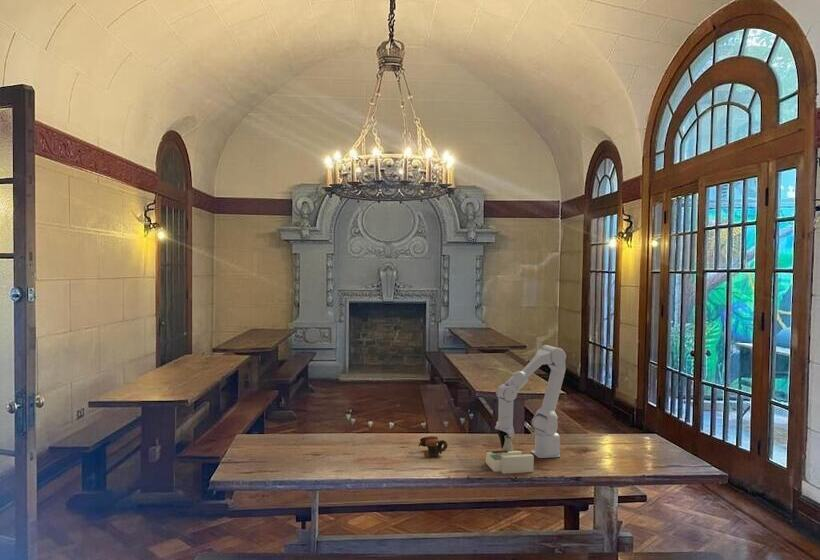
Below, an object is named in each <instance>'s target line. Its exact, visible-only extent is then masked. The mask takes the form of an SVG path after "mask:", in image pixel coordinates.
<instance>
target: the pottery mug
mask: <svg viewBox="0 0 820 560" xmlns="http://www.w3.org/2000/svg"><path fill="white" fill-rule="evenodd" d="M419 440H420V442H419V443H418V447H423V448H424V447H427V451H424V452H423V455H424V458H439V456H440V455H441V454H442V453H443V452H445V451H446V450H447V449H448V446H449V445H448V442H447V441H446V440H439V439H438V436H434V435H433V436H426V437H425V436H424V437H421V438H420V439H419ZM442 446H443V447H442Z"/></svg>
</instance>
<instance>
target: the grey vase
mask: <svg viewBox="0 0 820 560" xmlns="http://www.w3.org/2000/svg"><path fill="white" fill-rule="evenodd" d="M504 437H505V442H504V446H503V448H501V450H500V451H506V450H507V451H514V447H513V442H512V441H513V438H514V437H509V435H505V436H504ZM498 455H499V456H500V453H498Z"/></svg>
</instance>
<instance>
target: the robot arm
mask: <svg viewBox="0 0 820 560" xmlns="http://www.w3.org/2000/svg"><path fill="white" fill-rule="evenodd" d="M566 360H567V354H566V352H565V350H564V349H562V348H561V347H557V346H552V345H548V344H543V345H541V347H539V349H537V350H536V353H535V355H534V356H533V357H532V359H531V360H530V361H529V362H528V363H527V365H525V366H524V368H523V369H522V370H517V371H514V372H513V373H512V376H510V378H509V379H508V380H506V381H505V382H504V383H503V384H500V385H499V386H498V387H497V389H496V390H495V395H496V396H497V399H498V407H497V408H498V410H497V411H498V413H497V415H498V417H497V421H496V425H495V426H494V429H495V430H497V432H496V433H497V436H498V438H499V442H500V447H501V449H502V448H503V446H504V442H505V437H504V436H505V435H509V437H513V438H515V430H514V400H516V398H517V397H518V393H519V391H520V390H521V389H523V387H524V386H525V385H526V384H527V383H528V382H529V377H530V376H531V375H532V374H533V373H535V372H536V371H537V370H538V369H539V368H540V367H541V366H542V365H547V366H548V367H549V368H550V373H549V376H548V377H549V378H548V380H547V385H546V389H545V392H544V396H543V400H542V404H541V407H539V408H538V409H537V410H536V412H535V415H534V416H533V418H532V420H531V425H532V427H533V428H534V431H535V433H534V436H535V438H534V450H530V452H531V454H532V455H533V456H536V457H537V458H538V459H547V458H548V459H550V458H560V457H561V453H560V452H561V437H560V435H559V433H558V432H557V430H558V428H559V426H558V424H559V423H558V419H559V417H558V415H557V413H556V410H557V409H556V408H557V405H558V401H559V397H560V393H561V389H562V385H563V382H564V379H565V374H566V368H567V367H566Z"/></svg>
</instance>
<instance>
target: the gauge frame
mask: <svg viewBox="0 0 820 560" xmlns="http://www.w3.org/2000/svg"><path fill="white" fill-rule="evenodd" d="M492 451H493V450H489V451H486V452H485V453H486V454H485V464H486V465H487V467H489V468H490V469H491V470H492V471H493V472H494V473H495V472H501V474H503V475H504V474H505V475H506V474H521V473H534V465H535V462H534V460H535V459H534V458H535V457H534V456H535V455H534V454H533V453H529V454H522V455H507V456H501V457H500V456H499V453H492Z"/></svg>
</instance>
